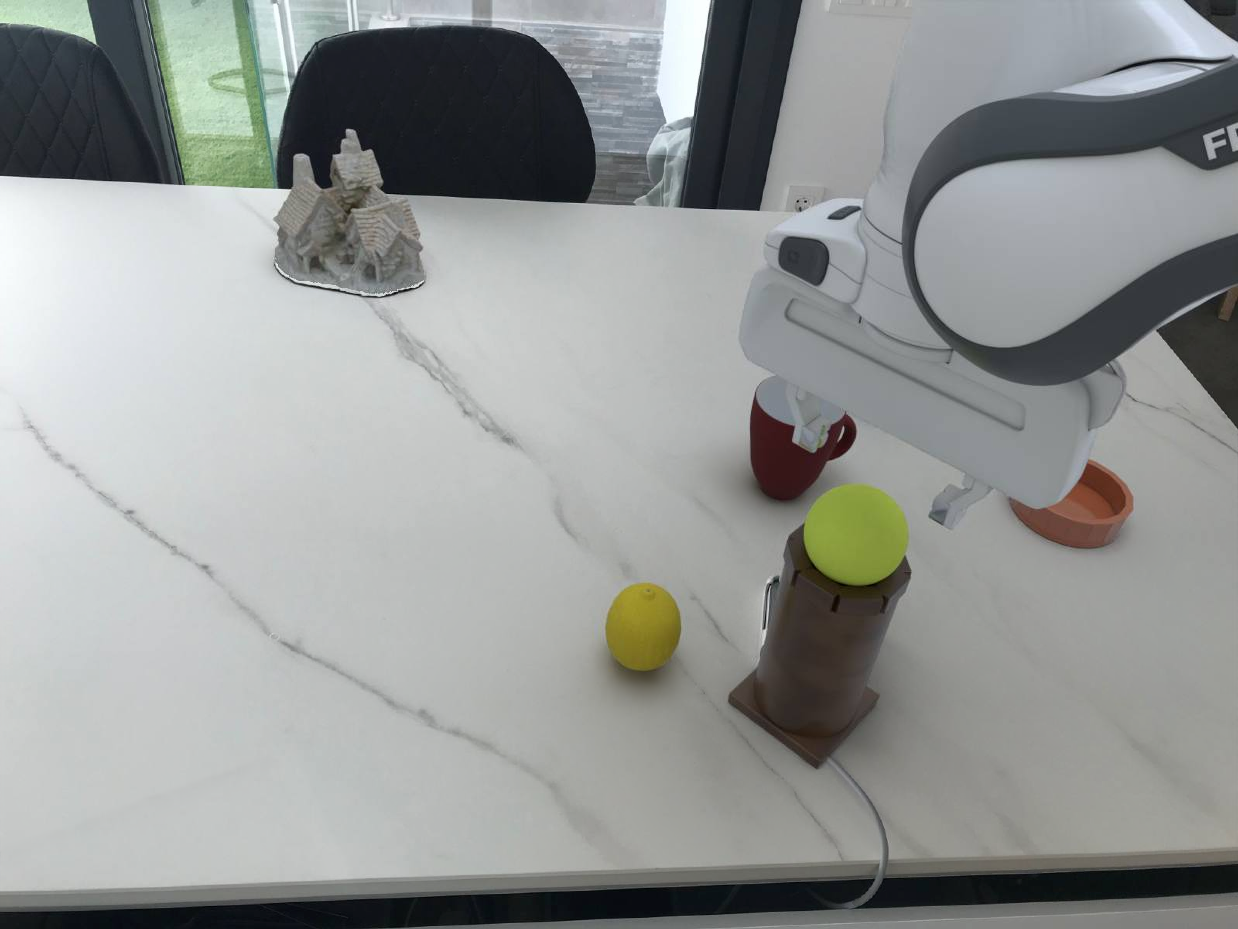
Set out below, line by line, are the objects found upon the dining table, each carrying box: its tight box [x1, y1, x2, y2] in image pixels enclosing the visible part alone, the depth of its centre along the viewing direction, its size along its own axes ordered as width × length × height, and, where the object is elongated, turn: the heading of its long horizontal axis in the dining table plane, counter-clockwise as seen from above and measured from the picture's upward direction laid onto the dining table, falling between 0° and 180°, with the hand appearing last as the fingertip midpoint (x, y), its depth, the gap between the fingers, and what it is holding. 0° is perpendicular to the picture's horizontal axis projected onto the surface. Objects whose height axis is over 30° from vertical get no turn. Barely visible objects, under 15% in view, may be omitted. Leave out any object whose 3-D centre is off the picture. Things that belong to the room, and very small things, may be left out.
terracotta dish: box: [1009, 458, 1134, 549], centre depth 90 cm, size 10×10×3 cm
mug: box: [749, 375, 858, 501], centre depth 88 cm, size 11×8×10 cm
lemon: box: [604, 582, 682, 672], centre depth 72 cm, size 6×6×8 cm
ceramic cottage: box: [272, 128, 426, 294], centre depth 111 cm, size 16×16×15 cm
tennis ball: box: [804, 483, 910, 586], centre depth 61 cm, size 6×6×6 cm
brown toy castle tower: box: [727, 521, 913, 770], centre depth 67 cm, size 8×8×16 cm
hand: (874, 480), depth 58 cm, fingers open, 8 cm apart
